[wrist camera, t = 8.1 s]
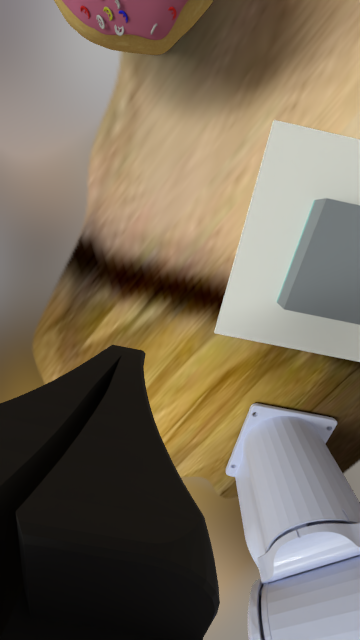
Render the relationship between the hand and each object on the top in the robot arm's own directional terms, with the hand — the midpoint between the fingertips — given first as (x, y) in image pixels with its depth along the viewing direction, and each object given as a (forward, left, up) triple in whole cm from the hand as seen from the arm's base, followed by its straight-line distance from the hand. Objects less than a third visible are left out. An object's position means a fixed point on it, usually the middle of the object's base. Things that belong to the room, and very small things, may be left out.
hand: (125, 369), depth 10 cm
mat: (+5, -12, -10) cm, 16 cm away
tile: (+5, -9, -9) cm, 13 cm away
